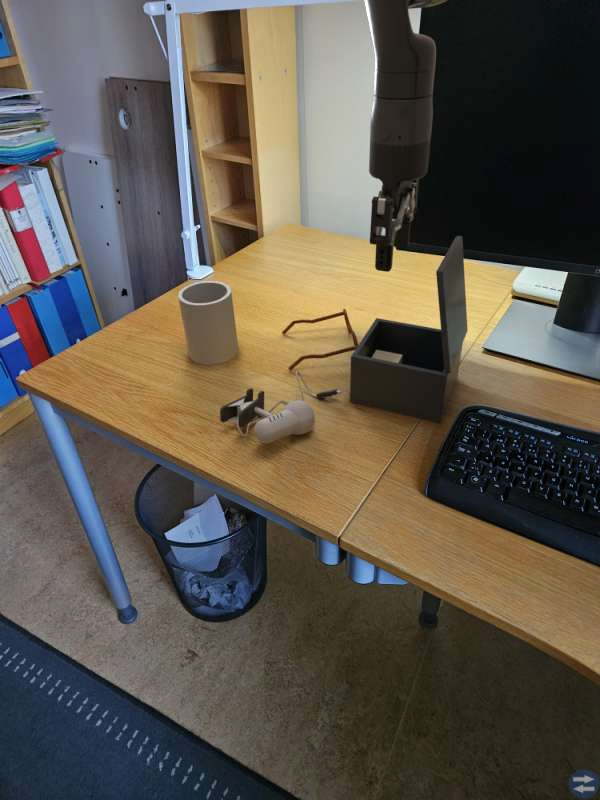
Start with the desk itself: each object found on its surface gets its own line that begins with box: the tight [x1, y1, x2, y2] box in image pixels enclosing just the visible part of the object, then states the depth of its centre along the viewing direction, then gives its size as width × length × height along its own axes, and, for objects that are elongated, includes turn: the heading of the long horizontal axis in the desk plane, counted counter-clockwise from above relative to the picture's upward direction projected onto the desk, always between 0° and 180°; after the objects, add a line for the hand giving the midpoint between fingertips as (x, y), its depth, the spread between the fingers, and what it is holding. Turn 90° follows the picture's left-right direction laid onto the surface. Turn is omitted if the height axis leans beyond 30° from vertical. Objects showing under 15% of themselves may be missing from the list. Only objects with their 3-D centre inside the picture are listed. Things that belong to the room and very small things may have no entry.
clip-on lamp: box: [219, 370, 343, 444], centre depth 85 cm, size 12×6×18 cm
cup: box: [177, 280, 239, 366], centre depth 100 cm, size 9×9×12 cm
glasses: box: [281, 308, 359, 371], centre depth 102 cm, size 13×13×5 cm
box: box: [349, 317, 464, 424], centre depth 89 cm, size 15×13×9 cm
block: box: [372, 350, 403, 364], centre depth 91 cm, size 4×4×4 cm
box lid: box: [435, 235, 468, 373], centre depth 80 cm, size 15×13×1 cm
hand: (392, 258), depth 80 cm, fingers open, 8 cm apart
